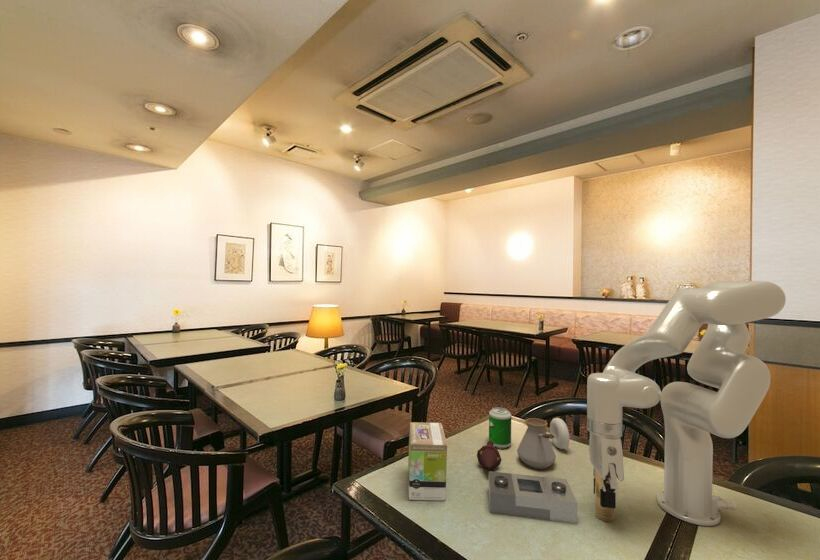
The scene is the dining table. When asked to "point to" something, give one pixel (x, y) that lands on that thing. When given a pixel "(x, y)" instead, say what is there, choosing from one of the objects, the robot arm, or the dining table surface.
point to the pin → (600, 512)
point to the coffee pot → (536, 445)
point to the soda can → (500, 427)
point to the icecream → (489, 456)
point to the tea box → (427, 461)
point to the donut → (559, 433)
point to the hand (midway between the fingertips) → (604, 500)
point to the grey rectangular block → (531, 497)
